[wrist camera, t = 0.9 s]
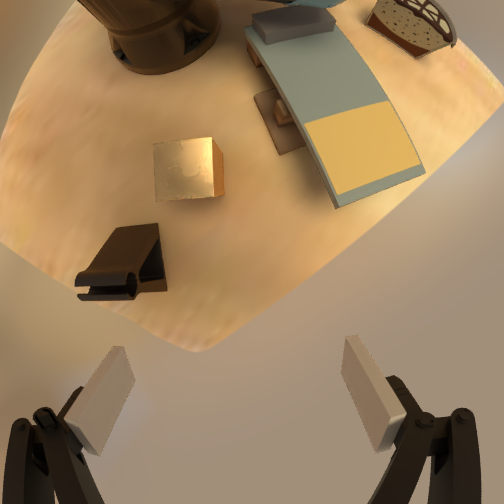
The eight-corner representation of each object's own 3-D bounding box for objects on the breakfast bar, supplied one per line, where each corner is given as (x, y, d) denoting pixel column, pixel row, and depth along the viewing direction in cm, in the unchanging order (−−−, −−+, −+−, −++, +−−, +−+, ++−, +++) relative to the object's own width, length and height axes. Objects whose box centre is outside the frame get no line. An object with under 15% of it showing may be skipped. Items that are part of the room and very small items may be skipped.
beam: (244, 35, 24) (241, 16, 20) (322, 18, 23) (326, 0, 20) (335, 209, 24) (345, 203, 21) (419, 176, 23) (436, 168, 20)
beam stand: (232, 55, 29) (230, 31, 23) (321, 32, 28) (334, 9, 22) (279, 155, 32) (286, 147, 26) (369, 125, 31) (392, 114, 25)
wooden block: (182, 156, 32) (153, 143, 21) (222, 153, 32) (211, 137, 21) (184, 197, 33) (156, 201, 22) (224, 194, 33) (214, 197, 22)
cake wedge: (429, 43, 27) (463, 21, 18) (423, 65, 29) (460, 43, 19) (366, 0, 26) (390, -32, 16) (355, 20, 27) (381, -15, 17)
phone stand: (167, 290, 36) (136, 334, 24) (128, 291, 36) (86, 331, 24) (158, 222, 34) (117, 240, 22) (117, 227, 34) (66, 245, 22)
